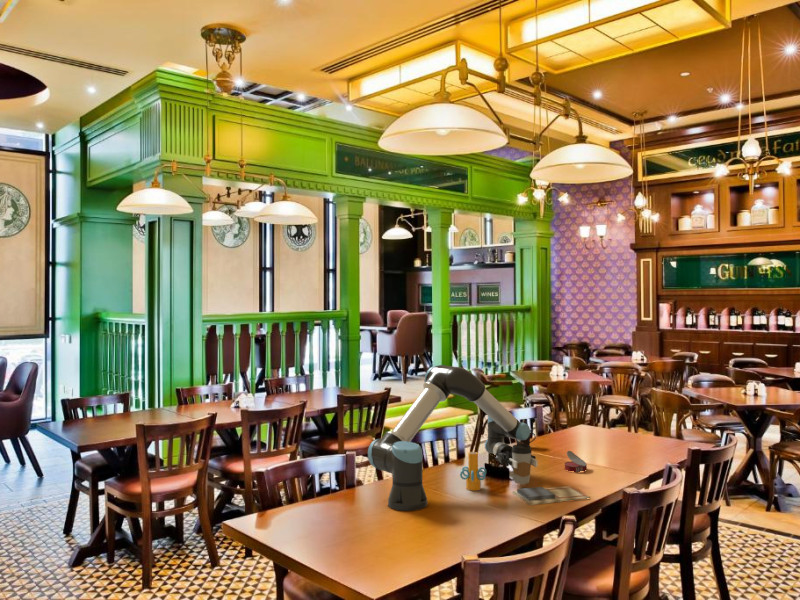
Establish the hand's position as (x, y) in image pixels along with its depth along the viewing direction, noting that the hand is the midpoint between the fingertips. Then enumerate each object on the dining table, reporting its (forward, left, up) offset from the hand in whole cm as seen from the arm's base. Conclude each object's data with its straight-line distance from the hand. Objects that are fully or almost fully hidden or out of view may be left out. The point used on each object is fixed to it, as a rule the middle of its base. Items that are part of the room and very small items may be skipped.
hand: (526, 464), depth 264 cm
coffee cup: (0, +5, -9) cm, 10 cm away
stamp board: (+6, -9, -11) cm, 16 cm away
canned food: (+36, +24, -11) cm, 44 cm away
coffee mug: (+33, +71, -11) cm, 79 cm away
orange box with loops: (-20, +9, -11) cm, 25 cm away
